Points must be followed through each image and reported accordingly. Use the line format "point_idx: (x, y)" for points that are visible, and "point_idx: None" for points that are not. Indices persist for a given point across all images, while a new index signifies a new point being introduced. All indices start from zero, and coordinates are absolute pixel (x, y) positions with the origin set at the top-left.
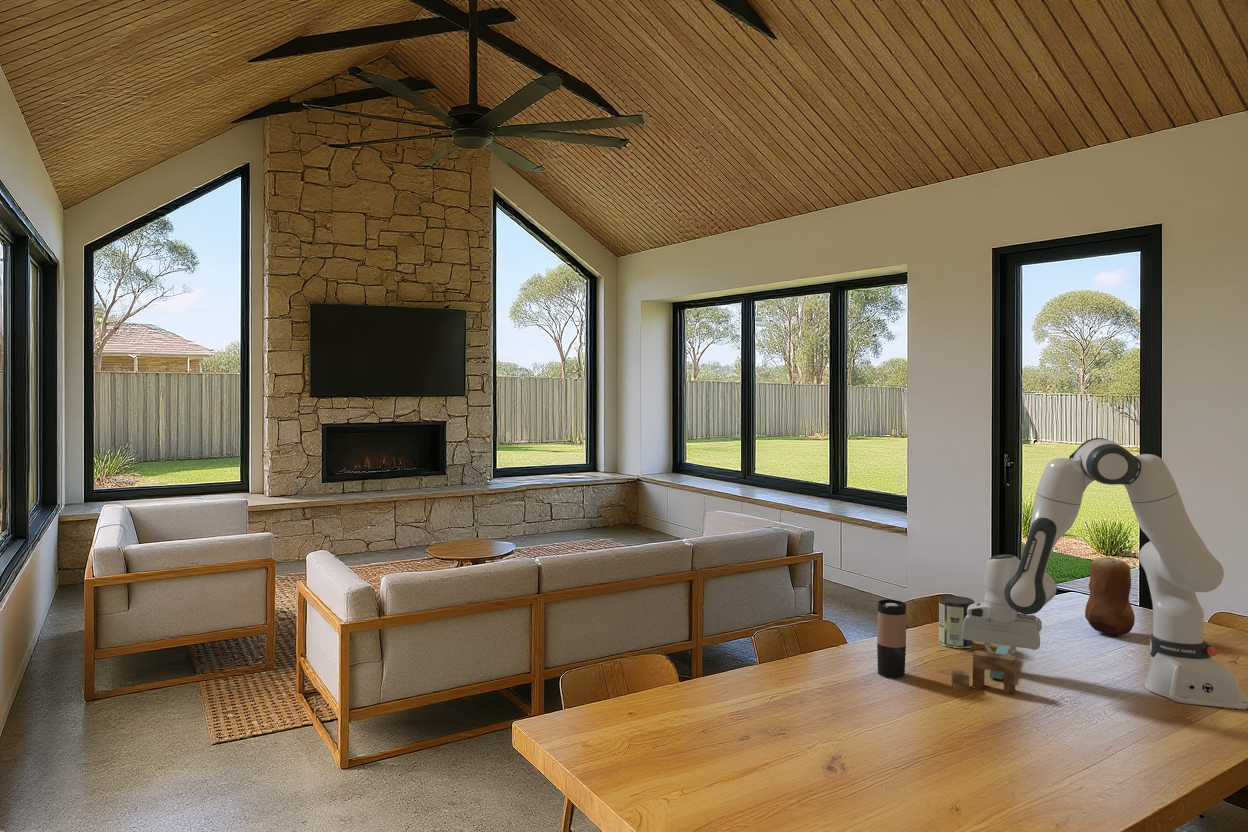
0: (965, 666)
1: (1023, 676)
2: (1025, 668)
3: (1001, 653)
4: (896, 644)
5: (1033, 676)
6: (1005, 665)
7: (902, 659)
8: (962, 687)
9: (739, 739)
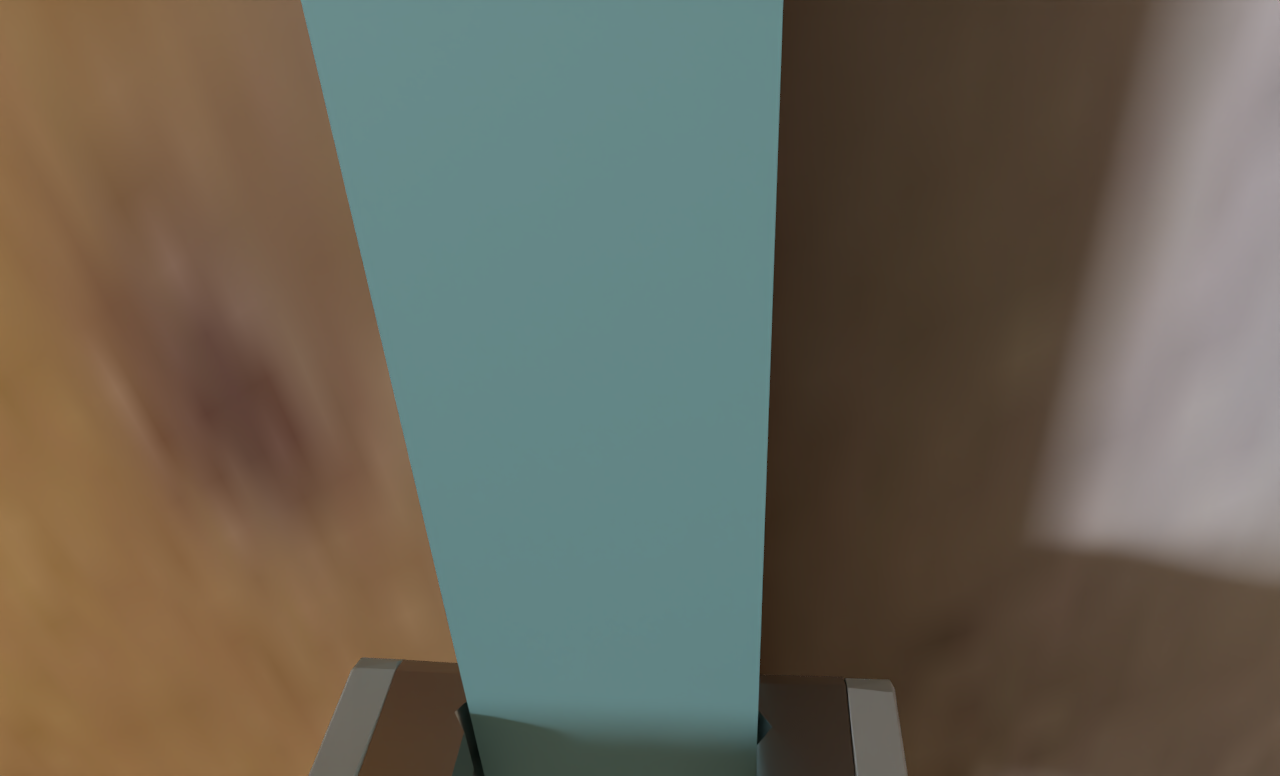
0: (124, 657)
1: (1061, 726)
2: (1204, 299)
3: (602, 558)
4: None
5: (1255, 673)
6: None
7: None
8: None
9: None
